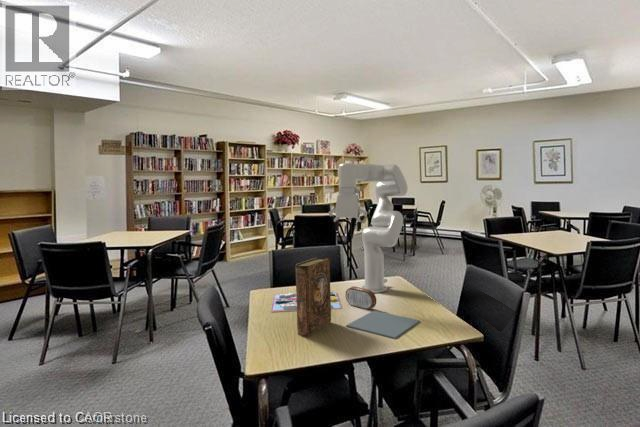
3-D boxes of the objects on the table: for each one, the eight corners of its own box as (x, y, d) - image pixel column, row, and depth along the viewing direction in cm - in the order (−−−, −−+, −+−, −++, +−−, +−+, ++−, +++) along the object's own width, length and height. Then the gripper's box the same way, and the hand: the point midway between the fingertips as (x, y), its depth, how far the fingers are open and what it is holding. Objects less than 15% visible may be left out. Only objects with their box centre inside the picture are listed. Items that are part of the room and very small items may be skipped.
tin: (377, 310, 159) (376, 290, 158) (372, 311, 157) (372, 291, 156) (349, 303, 169) (348, 284, 168) (344, 304, 167) (344, 286, 166)
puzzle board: (270, 314, 159) (270, 307, 159) (273, 298, 182) (273, 292, 182) (342, 310, 161) (342, 304, 161) (336, 295, 184) (336, 289, 184)
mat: (374, 311, 156) (374, 310, 156) (419, 321, 144) (419, 320, 144) (346, 326, 141) (346, 325, 141) (395, 339, 128) (395, 337, 128)
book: (308, 337, 132) (306, 266, 130) (295, 334, 134) (293, 265, 133) (331, 322, 146) (329, 258, 144) (319, 320, 149) (317, 257, 147)
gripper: (368, 191, 166) (368, 230, 167) (330, 192, 171) (331, 229, 172) (365, 191, 159) (365, 232, 160) (326, 192, 164) (326, 231, 165)
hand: (347, 230), depth 166 cm, fingers open, 9 cm apart
